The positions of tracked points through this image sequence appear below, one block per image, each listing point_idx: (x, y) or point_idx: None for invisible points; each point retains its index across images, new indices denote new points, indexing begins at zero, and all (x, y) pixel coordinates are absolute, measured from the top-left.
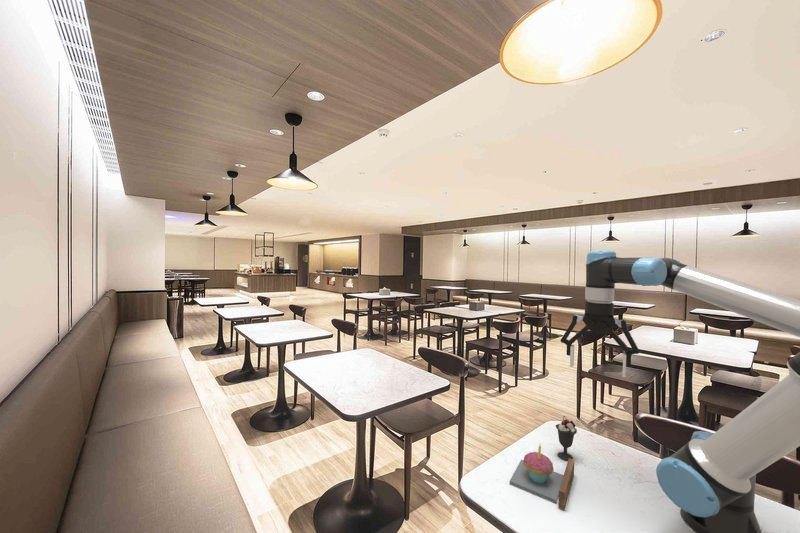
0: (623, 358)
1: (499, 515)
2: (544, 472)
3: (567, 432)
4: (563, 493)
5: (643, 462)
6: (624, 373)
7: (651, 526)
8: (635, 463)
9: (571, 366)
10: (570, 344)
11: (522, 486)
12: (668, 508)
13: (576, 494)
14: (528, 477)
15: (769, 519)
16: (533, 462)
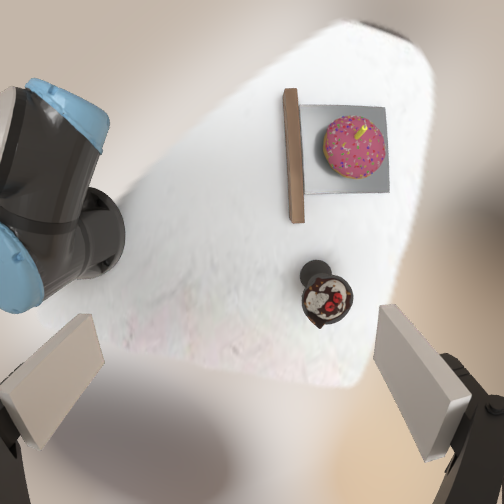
0: (23, 376)
1: (363, 30)
2: (335, 120)
3: (321, 279)
4: (288, 89)
5: (185, 350)
6: (72, 323)
7: (158, 160)
8: (196, 339)
9: (387, 306)
10: (480, 411)
11: (361, 106)
12: (139, 230)
13: (274, 157)
14: None
15: (50, 298)
16: (362, 122)
